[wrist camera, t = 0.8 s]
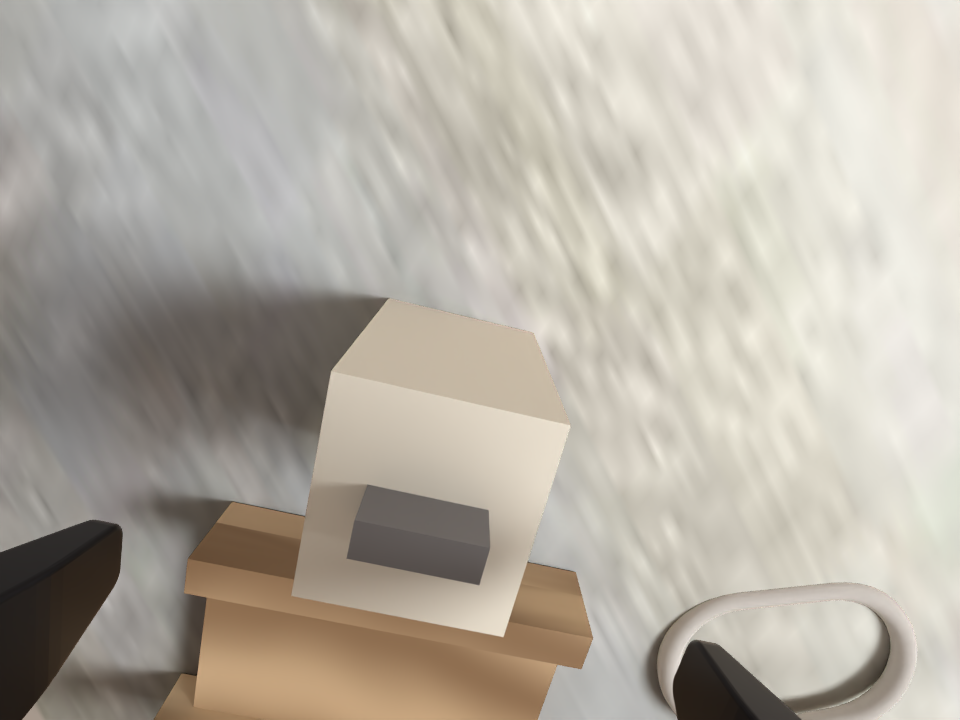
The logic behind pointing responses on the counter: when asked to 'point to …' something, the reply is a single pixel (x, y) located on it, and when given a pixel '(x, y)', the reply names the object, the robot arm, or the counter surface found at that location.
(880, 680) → the hook
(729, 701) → the robot arm
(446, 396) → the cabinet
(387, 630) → the board
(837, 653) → the counter surface
